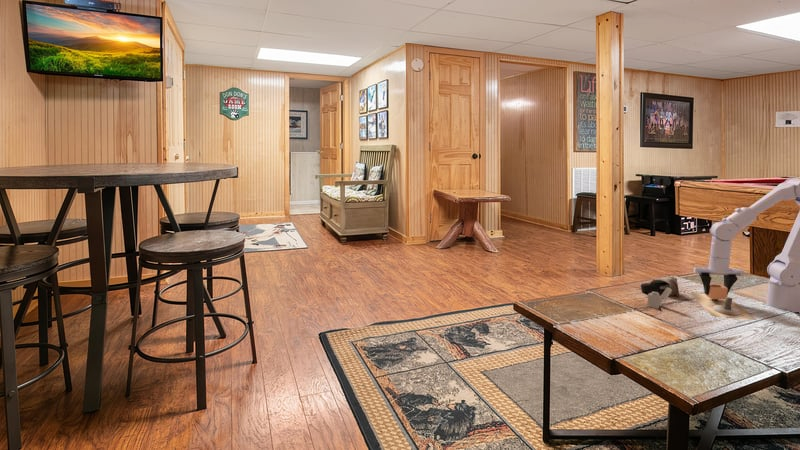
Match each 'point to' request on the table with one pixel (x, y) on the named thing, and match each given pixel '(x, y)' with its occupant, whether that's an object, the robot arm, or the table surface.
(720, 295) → the collar
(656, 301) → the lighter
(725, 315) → the board
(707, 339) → the table surface
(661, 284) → the caster wheel
